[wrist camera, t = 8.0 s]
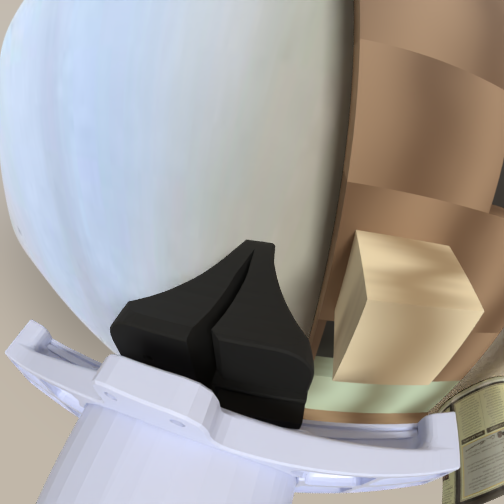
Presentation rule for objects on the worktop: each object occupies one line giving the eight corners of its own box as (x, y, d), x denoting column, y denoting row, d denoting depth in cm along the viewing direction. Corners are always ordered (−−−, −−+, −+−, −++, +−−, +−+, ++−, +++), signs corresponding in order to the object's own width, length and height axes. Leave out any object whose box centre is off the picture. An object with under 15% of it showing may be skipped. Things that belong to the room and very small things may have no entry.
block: (449, 245, 11) (484, 311, 7) (415, 319, 14) (428, 385, 10) (355, 229, 12) (367, 299, 8) (334, 310, 14) (332, 381, 11)
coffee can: (510, 392, 19) (523, 483, 8) (446, 424, 25) (448, 513, 13) (509, 363, 17) (531, 481, 5) (428, 404, 22) (430, 520, 11)
